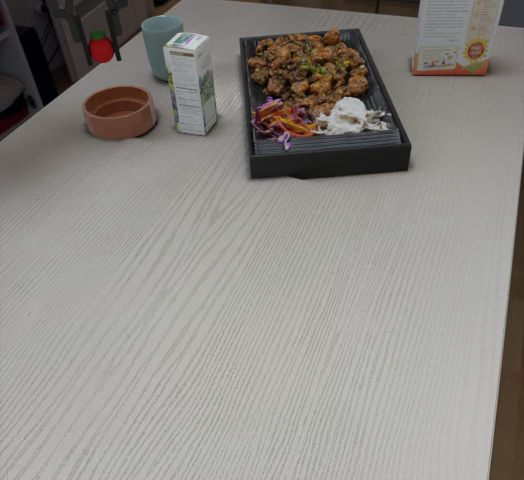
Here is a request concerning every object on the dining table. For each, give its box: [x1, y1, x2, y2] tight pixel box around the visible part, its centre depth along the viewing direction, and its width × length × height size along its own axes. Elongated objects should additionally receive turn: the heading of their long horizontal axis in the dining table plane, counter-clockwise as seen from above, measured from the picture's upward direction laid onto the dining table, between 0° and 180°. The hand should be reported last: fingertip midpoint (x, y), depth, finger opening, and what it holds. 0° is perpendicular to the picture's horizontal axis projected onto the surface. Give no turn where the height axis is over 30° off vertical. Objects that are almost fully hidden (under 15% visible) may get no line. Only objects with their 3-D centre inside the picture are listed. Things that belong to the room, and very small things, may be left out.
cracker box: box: [410, 0, 505, 76], centre depth 98 cm, size 14×6×21 cm, turn 82°
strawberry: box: [87, 29, 115, 64], centre depth 86 cm, size 4×4×4 cm
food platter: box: [239, 27, 413, 180], centre depth 95 cm, size 45×25×10 cm, turn 4°
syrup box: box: [163, 32, 218, 136], centre depth 92 cm, size 6×6×14 cm
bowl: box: [81, 84, 157, 140], centre depth 97 cm, size 12×12×4 cm
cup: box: [140, 14, 185, 82], centre depth 107 cm, size 8×8×10 cm
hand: (104, 59), depth 88 cm, fingers closed on strawberry, 4 cm apart
